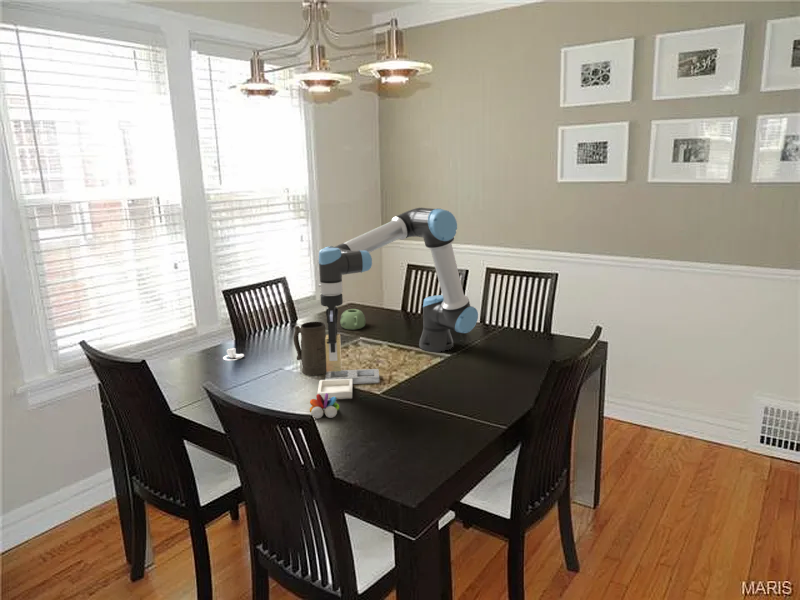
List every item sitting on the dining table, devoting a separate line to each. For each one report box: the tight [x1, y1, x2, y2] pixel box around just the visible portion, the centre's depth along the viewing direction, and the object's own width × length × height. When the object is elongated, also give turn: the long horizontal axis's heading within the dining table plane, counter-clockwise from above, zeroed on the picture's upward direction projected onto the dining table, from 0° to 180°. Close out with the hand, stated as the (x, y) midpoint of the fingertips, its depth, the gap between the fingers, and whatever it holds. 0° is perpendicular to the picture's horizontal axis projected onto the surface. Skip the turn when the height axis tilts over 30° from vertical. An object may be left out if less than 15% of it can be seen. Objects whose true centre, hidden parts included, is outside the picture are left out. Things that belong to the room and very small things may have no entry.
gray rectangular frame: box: [324, 368, 380, 385], centre depth 205 cm, size 20×8×2 cm, turn 94°
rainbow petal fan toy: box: [309, 393, 340, 419], centre depth 176 cm, size 8×10×7 cm
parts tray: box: [316, 379, 354, 400], centre depth 194 cm, size 12×12×2 cm
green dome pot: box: [339, 308, 366, 331], centre depth 270 cm, size 16×13×9 cm
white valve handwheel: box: [222, 347, 245, 361], centre depth 230 cm, size 9×8×4 cm
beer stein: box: [292, 321, 327, 376], centre depth 213 cm, size 15×10×20 cm
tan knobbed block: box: [325, 333, 342, 372], centre depth 190 cm, size 5×5×12 cm
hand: (333, 357), depth 191 cm, fingers closed on tan knobbed block, 5 cm apart
